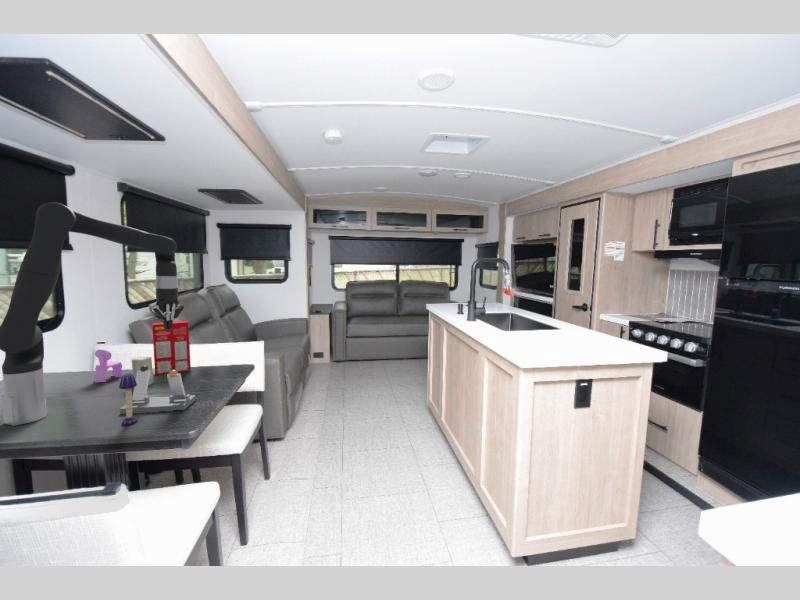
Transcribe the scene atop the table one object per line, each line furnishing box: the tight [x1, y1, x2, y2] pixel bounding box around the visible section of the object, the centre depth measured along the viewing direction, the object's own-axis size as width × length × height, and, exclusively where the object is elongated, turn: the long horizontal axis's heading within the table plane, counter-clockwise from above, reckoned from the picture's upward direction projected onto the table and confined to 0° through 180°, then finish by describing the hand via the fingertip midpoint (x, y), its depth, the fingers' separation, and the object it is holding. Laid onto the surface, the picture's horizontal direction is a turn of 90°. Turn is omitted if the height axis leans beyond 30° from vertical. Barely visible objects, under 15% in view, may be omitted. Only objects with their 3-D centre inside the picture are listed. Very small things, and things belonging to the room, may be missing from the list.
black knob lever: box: [132, 366, 151, 402], centre depth 129 cm, size 3×4×13 cm, turn 100°
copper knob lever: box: [166, 370, 187, 400], centre depth 127 cm, size 3×4×13 cm, turn 100°
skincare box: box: [131, 356, 154, 386], centre depth 152 cm, size 6×4×12 cm
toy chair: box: [93, 348, 123, 383], centre depth 158 cm, size 8×9×15 cm
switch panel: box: [119, 393, 197, 415], centre depth 128 cm, size 10×21×4 cm, turn 100°
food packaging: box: [151, 320, 192, 377], centre depth 170 cm, size 15×5×25 cm, turn 126°
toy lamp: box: [118, 373, 139, 426], centre depth 114 cm, size 5×5×17 cm
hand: (168, 329), depth 140 cm, fingers closed
